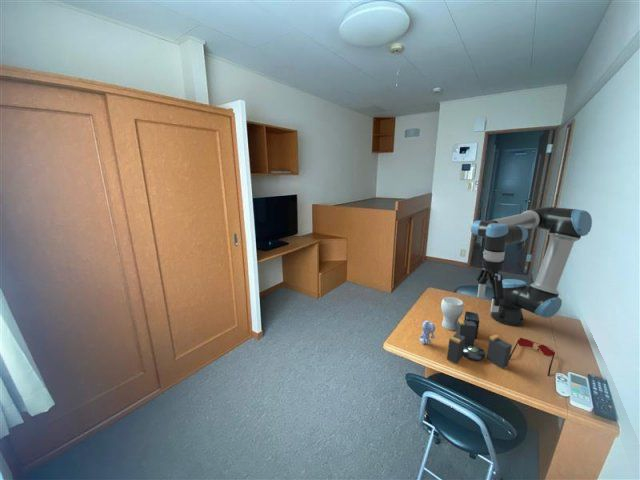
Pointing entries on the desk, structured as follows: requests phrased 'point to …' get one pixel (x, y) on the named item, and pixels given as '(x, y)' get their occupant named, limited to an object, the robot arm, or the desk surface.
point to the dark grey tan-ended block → (498, 351)
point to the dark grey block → (456, 348)
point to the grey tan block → (467, 330)
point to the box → (472, 319)
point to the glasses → (542, 347)
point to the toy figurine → (427, 332)
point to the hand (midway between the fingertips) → (487, 304)
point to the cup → (451, 312)
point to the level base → (473, 352)
